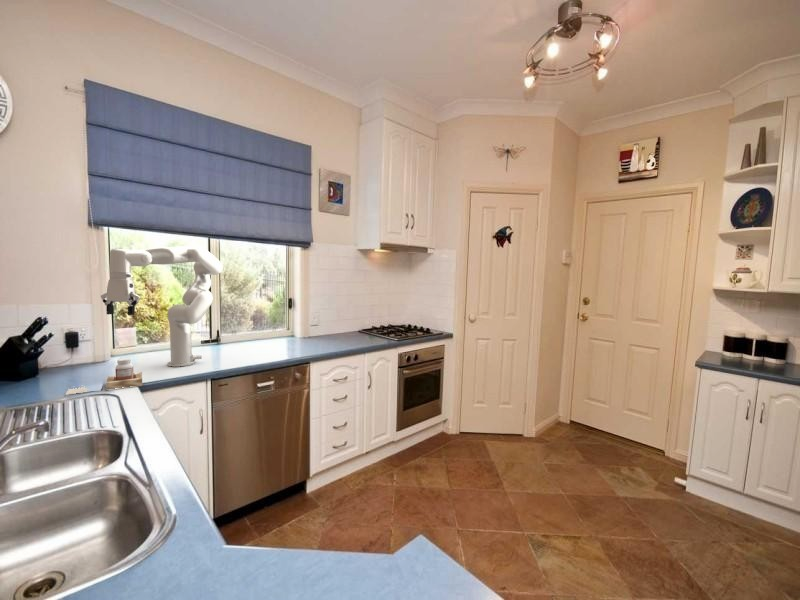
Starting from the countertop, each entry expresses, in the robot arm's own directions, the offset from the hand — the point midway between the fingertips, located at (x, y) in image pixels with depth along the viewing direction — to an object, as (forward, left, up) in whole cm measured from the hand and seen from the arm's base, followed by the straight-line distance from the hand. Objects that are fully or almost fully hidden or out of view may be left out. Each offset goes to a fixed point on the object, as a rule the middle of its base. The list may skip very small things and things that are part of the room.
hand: (120, 314), depth 163 cm
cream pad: (+12, +12, -29) cm, 34 cm away
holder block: (-1, +12, -29) cm, 32 cm away
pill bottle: (-1, +12, -29) cm, 32 cm away
